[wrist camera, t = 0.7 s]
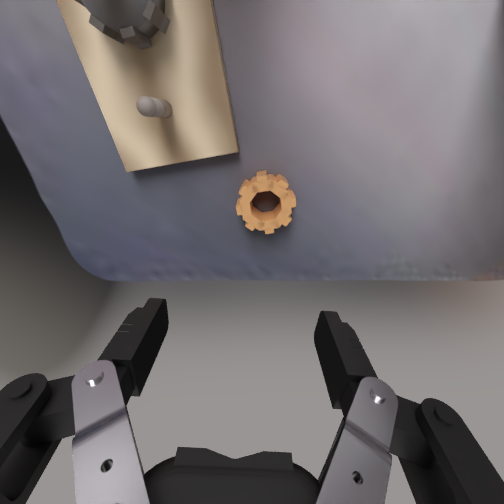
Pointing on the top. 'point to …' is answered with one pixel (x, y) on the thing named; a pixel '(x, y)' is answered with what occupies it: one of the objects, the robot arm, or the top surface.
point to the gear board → (155, 77)
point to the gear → (269, 218)
